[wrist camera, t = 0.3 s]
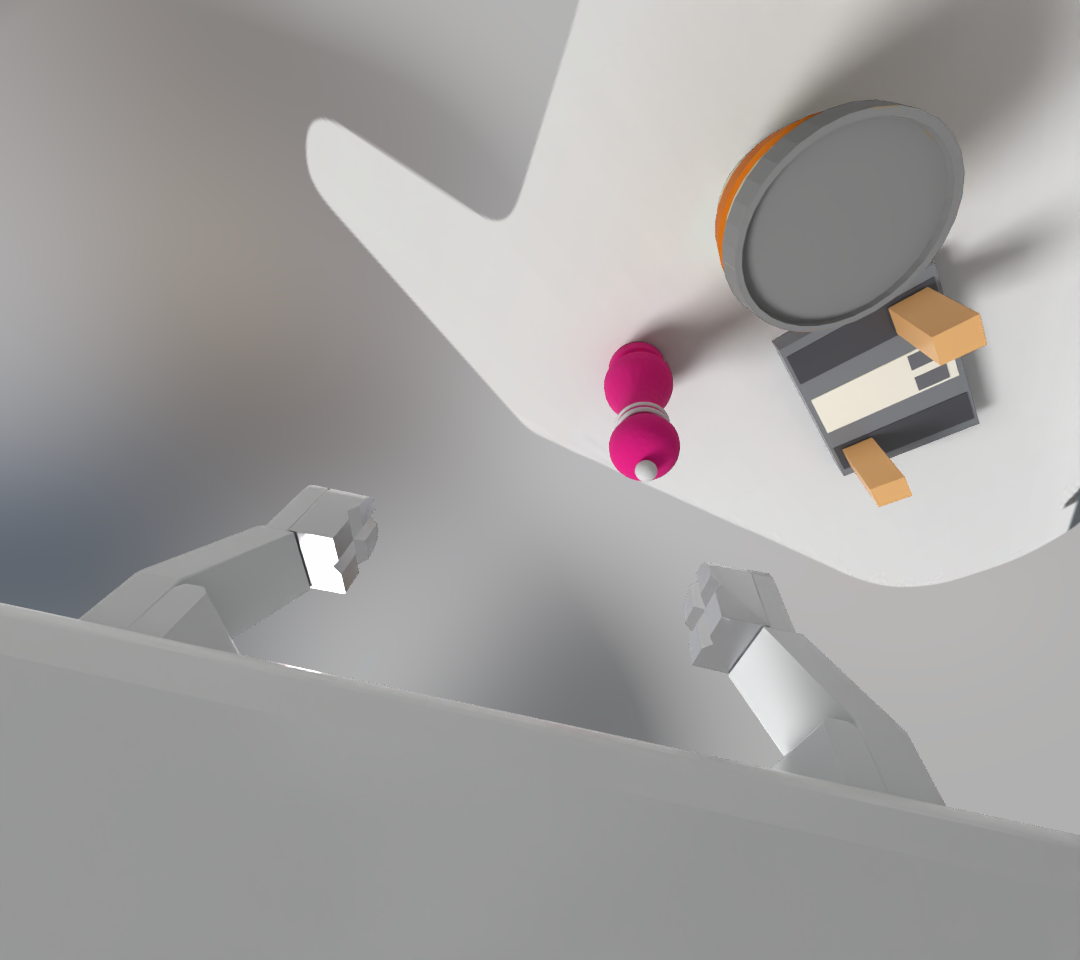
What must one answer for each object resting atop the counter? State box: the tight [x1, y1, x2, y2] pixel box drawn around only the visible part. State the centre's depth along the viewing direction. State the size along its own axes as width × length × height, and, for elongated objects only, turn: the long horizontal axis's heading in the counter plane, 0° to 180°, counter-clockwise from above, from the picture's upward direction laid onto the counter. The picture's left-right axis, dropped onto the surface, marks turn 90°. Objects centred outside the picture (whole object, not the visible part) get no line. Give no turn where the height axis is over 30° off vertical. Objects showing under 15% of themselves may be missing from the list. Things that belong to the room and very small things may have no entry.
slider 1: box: [843, 437, 912, 507], centre depth 46 cm, size 3×3×7 cm
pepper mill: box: [604, 342, 680, 482], centre depth 41 cm, size 7×7×20 cm
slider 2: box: [888, 287, 987, 366], centre depth 36 cm, size 3×3×7 cm
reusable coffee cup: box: [715, 100, 964, 332], centre depth 31 cm, size 12×13×15 cm
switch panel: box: [772, 262, 979, 476], centre depth 45 cm, size 13×20×3 cm, turn 40°
